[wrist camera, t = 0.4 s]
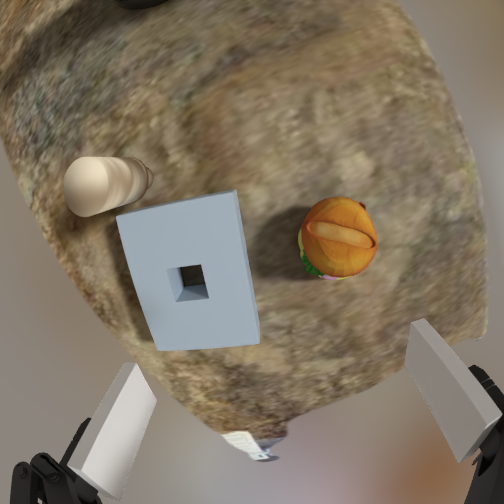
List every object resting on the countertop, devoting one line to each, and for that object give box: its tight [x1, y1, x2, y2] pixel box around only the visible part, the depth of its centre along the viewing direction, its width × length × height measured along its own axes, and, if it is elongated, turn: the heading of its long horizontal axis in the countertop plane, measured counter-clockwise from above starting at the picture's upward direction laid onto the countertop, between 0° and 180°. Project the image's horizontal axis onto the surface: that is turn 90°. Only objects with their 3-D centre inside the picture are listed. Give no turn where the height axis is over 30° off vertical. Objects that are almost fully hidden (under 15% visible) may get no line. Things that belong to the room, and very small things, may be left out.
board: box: [116, 189, 260, 351], centre depth 35 cm, size 20×15×5 cm
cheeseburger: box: [298, 197, 377, 280], centre depth 32 cm, size 10×11×10 cm
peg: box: [63, 157, 153, 217], centre depth 28 cm, size 6×6×14 cm
